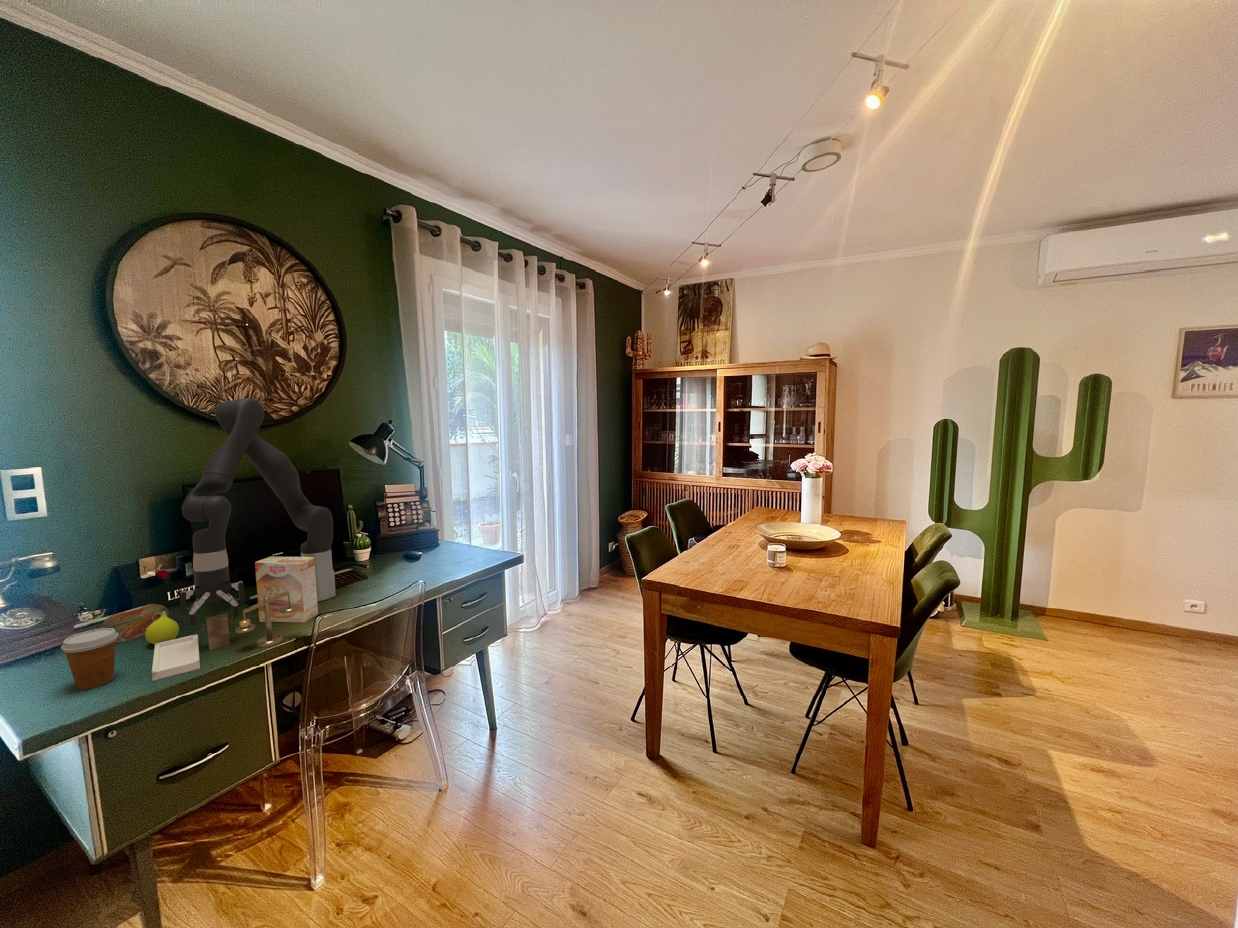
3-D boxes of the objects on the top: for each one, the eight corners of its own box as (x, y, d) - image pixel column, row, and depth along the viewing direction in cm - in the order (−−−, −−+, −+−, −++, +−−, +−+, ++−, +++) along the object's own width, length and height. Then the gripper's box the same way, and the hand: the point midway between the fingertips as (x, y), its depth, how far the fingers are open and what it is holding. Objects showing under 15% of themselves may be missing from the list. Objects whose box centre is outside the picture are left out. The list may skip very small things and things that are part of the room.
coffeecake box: (258, 622, 156) (253, 562, 154) (275, 613, 163) (270, 555, 161) (304, 622, 156) (300, 562, 154) (318, 613, 163) (315, 556, 161)
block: (228, 639, 144) (226, 613, 143) (230, 645, 141) (227, 618, 140) (208, 644, 141) (206, 617, 140) (209, 650, 138) (207, 622, 137)
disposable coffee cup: (72, 697, 115) (66, 648, 114) (61, 685, 120) (56, 638, 119) (128, 678, 123) (123, 632, 122) (116, 668, 128) (111, 624, 127)
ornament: (176, 635, 147) (172, 603, 146) (183, 641, 143) (180, 608, 142) (143, 644, 141) (139, 611, 140) (150, 651, 137) (146, 616, 136)
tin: (104, 647, 140) (101, 619, 139) (100, 645, 141) (96, 617, 140) (171, 627, 153) (169, 600, 152) (166, 625, 154) (164, 599, 153)
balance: (299, 631, 149) (295, 586, 148) (302, 638, 145) (299, 591, 143) (235, 647, 139) (231, 599, 138) (237, 654, 135) (233, 605, 133)
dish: (198, 640, 144) (197, 634, 143) (200, 668, 128) (199, 660, 128) (155, 650, 138) (155, 643, 137) (152, 680, 122) (151, 673, 122)
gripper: (241, 558, 146) (245, 611, 147) (177, 568, 137) (181, 624, 138) (244, 564, 140) (247, 619, 142) (176, 574, 131) (181, 633, 133)
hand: (215, 622), depth 140 cm, fingers open, 8 cm apart
